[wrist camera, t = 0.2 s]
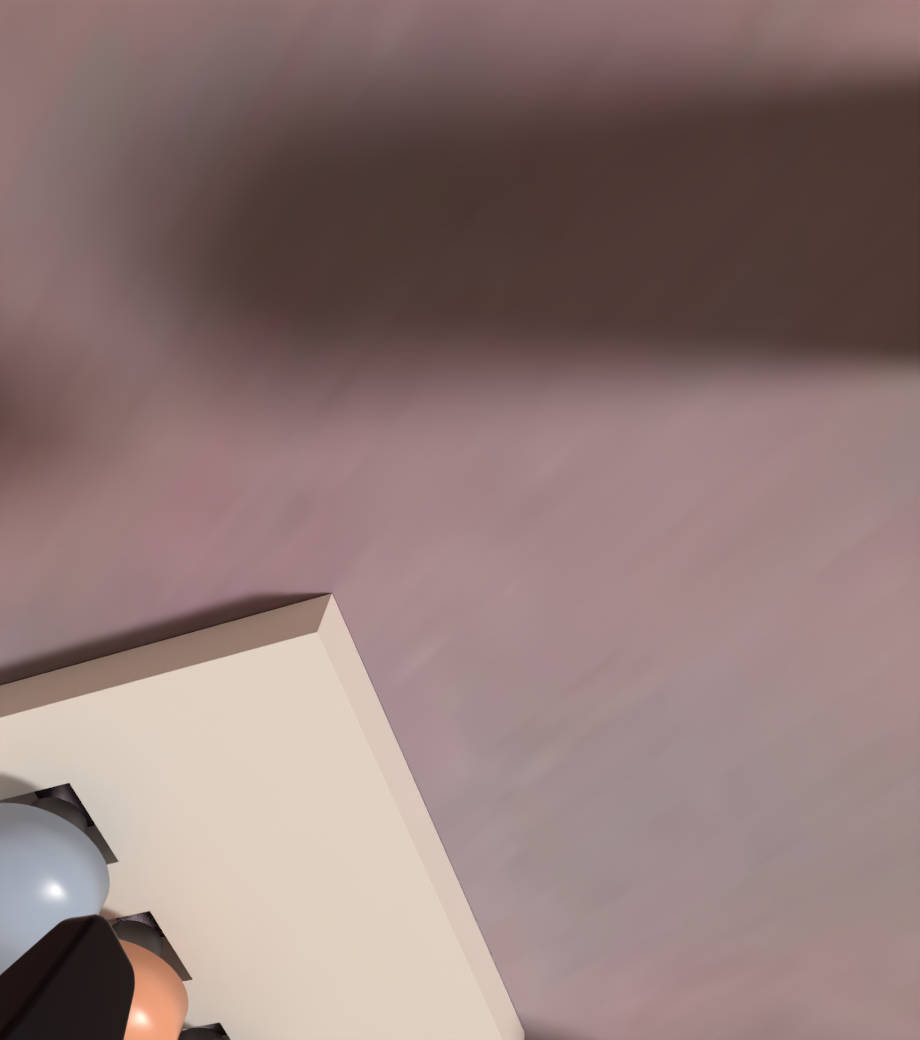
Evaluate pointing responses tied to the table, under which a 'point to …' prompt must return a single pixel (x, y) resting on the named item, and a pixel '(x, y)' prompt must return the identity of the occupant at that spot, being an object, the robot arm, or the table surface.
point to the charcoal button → (199, 1034)
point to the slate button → (45, 872)
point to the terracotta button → (151, 985)
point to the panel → (264, 831)
